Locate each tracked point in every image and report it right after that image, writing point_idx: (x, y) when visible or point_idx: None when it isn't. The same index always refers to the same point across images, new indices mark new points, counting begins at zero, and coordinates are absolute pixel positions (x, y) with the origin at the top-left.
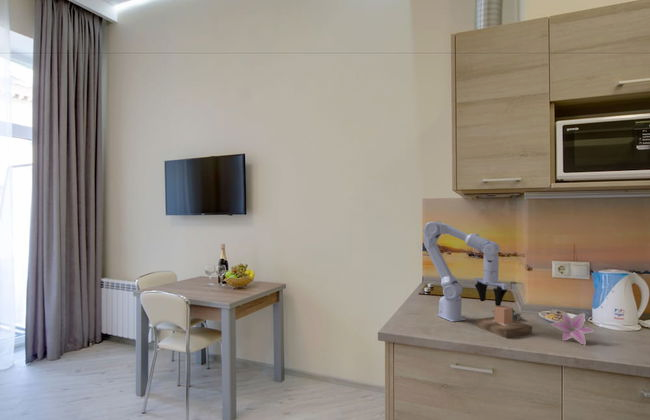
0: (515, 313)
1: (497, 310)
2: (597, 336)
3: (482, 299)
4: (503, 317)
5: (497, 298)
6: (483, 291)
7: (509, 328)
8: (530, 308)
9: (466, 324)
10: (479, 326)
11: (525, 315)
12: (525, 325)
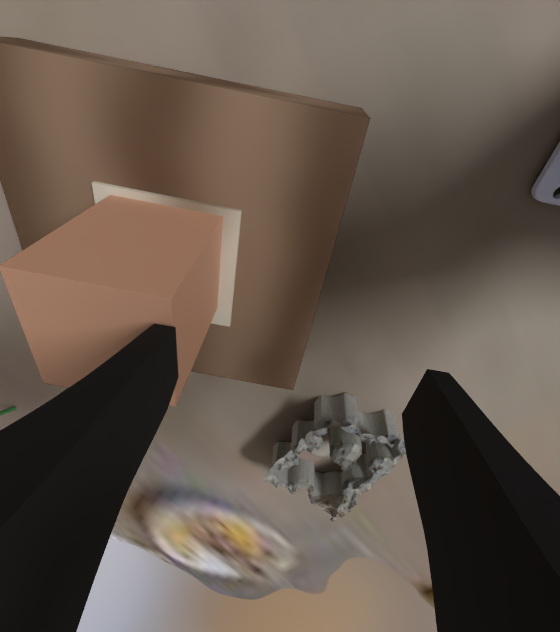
0: (301, 483)
1: (137, 263)
2: None
3: (427, 401)
4: (79, 220)
5: (54, 400)
6: (463, 556)
7: (8, 133)
8: (337, 564)
9: (474, 59)
10: (331, 103)
11: (298, 504)
12: None
